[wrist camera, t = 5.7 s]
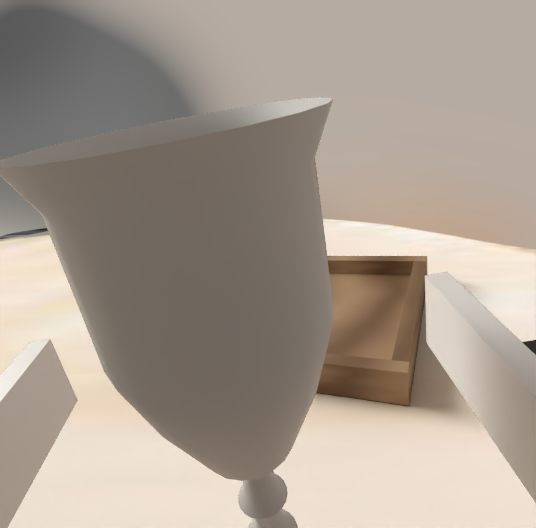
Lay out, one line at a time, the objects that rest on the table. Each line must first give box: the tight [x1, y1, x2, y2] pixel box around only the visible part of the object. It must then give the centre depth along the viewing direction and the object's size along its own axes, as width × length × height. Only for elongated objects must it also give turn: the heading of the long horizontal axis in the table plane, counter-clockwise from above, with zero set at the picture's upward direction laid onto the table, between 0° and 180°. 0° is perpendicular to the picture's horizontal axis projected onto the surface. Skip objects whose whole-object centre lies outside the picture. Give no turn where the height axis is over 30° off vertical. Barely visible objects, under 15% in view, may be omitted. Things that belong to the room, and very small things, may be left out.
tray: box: [316, 256, 427, 406], centre depth 35 cm, size 22×16×2 cm
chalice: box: [0, 97, 334, 528], centre depth 12 cm, size 7×7×18 cm
